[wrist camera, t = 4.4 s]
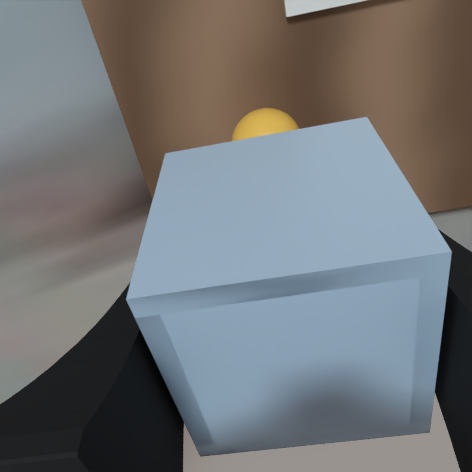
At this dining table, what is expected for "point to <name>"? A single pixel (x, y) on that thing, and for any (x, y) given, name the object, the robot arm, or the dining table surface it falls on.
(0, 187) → the dining table surface
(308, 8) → the pad
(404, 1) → the board
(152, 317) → the light blue cube
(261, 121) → the marble
